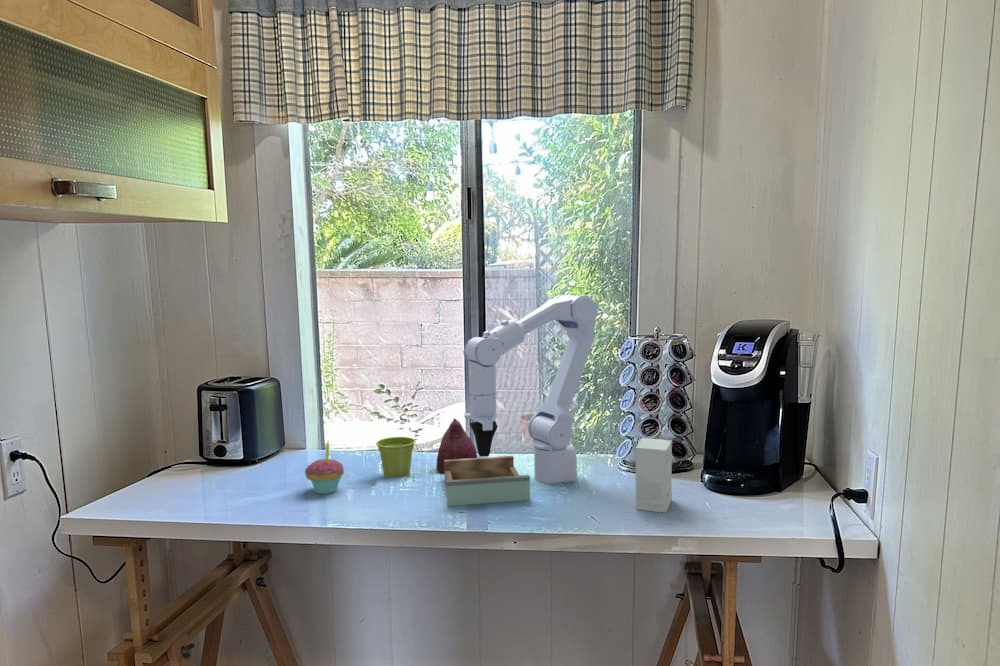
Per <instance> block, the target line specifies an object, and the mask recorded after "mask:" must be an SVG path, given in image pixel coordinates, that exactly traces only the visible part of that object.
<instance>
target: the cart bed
mask: <svg viewBox="0 0 1000 666" xmlns="http://www.w3.org/2000/svg"><path fill="white" fill-rule="evenodd" d="M514 465H515V464H514V455H502V456H501V455H500V456H483V457H477V458H467V459H451V460H444V471H445V474H444V482H445V488H446V489H447V485H446V480H461V479H476V478H491V477H506V476H521V475H520V474H519V471H518V470H517V468H516V467H515V466H514Z"/></svg>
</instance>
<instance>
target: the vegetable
mask: <svg viewBox="0 0 1000 666" xmlns="http://www.w3.org/2000/svg"><path fill="white" fill-rule="evenodd" d="M437 452H438V453H437V457H436V464H435V465H436V472H438V473H440V474H444V475H445V471H444V460H451V459H467V458H478V454H477V453H478V452H477V448H476V447H475V444H474V442H473V440H472V439H471V438H470V436H469V435H468V434H467V432H466V431H465V429H464V428H463V426H462V424H461V422H460V421H459V420H457V419H456V418H453V419H452V421H451V422H450V424H449V426H448V428H447V429H446V431H445V432H444V434H443V436H442V438H441V440H440V445H439V448H438V451H437Z"/></svg>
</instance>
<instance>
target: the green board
mask: <svg viewBox="0 0 1000 666" xmlns="http://www.w3.org/2000/svg"><path fill="white" fill-rule="evenodd" d="M446 485H447V488H446V506H447V507H453V506H454V507H455V506H468V505H469V506H470V505H482V504H495V503H509V502H510V503H511V502H521V501H530V500H531V476H530V475H529V474H523V475H520V476H506V477H491V478H476V479H461V480H446V483H445V486H446Z"/></svg>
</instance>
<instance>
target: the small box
mask: <svg viewBox="0 0 1000 666" xmlns="http://www.w3.org/2000/svg"><path fill="white" fill-rule="evenodd" d="M672 447H673V441H672V440H669V439H661V438H659V439H658V438H646V437H643V438H641V440H640V441H639V442H638V443H637V445H636V446H635V449H634V451H635V510H637V509H638V511H646V512H647V511H648V512H653V511H654V512H655V513H661V512H663V513H662V514H666V513H667V512H668V509H669V507H670V505H671V502H672V501H673V500H672V499H673V497H672V494H673V493H672V490H673V489H672V486H673V485H672V474H673V473H672V471H673V470H672V468H673V467H672V466H673V460H672V458H673V457H672V455H673V452H672V449H673V448H672Z"/></svg>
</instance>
